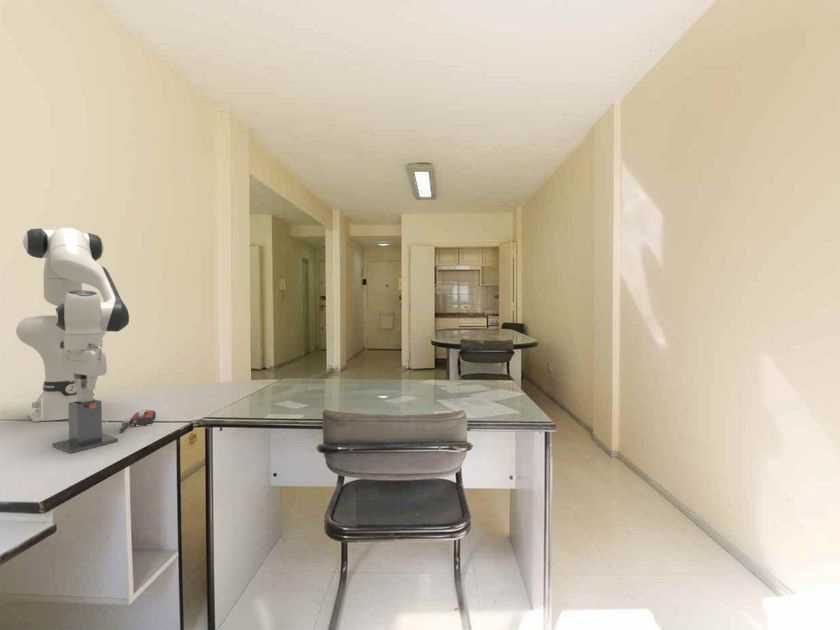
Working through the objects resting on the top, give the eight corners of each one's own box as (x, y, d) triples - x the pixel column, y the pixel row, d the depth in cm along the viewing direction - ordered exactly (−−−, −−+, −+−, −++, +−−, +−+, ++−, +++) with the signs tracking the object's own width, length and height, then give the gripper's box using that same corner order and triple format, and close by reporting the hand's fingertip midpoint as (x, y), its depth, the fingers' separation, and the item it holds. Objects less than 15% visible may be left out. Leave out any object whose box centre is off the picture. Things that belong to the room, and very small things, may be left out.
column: (76, 440, 122) (75, 375, 121) (90, 437, 125) (89, 373, 124) (81, 442, 120) (80, 376, 120) (95, 438, 123) (94, 374, 123)
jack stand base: (52, 446, 120) (51, 403, 120) (99, 435, 130) (99, 395, 130) (69, 453, 114) (69, 408, 114) (118, 441, 125) (117, 400, 124)
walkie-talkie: (129, 420, 150) (117, 435, 132) (128, 408, 150) (116, 421, 132) (156, 417, 154) (148, 431, 136) (156, 405, 154) (148, 418, 136)
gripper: (112, 344, 119) (113, 389, 120) (81, 341, 129) (82, 383, 130) (87, 345, 114) (88, 393, 114) (56, 342, 124) (57, 387, 124)
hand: (84, 388), depth 122 cm, fingers open, 6 cm apart
